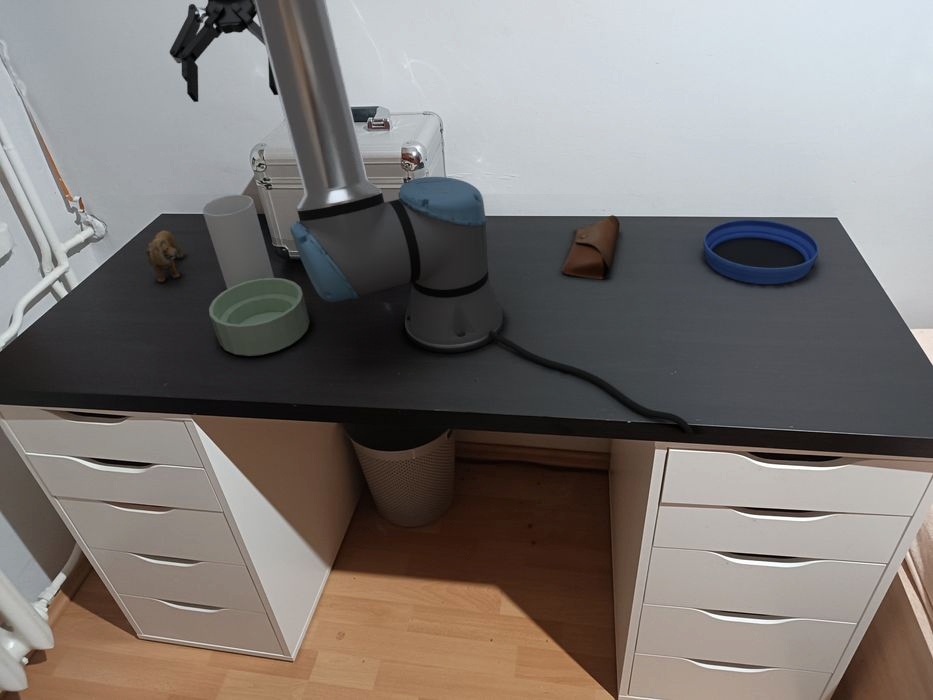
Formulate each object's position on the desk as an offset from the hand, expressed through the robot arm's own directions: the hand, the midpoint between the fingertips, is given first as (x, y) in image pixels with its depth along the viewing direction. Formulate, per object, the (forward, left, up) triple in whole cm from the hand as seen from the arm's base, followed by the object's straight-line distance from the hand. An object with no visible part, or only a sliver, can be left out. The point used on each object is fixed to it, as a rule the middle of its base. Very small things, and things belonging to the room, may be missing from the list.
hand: (233, 94), depth 114 cm
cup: (-6, +11, -30) cm, 33 cm away
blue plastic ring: (-80, -37, -30) cm, 93 cm away
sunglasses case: (-53, -27, -30) cm, 67 cm away
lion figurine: (+13, +14, -30) cm, 36 cm away
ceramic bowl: (-19, +20, -30) cm, 41 cm away
